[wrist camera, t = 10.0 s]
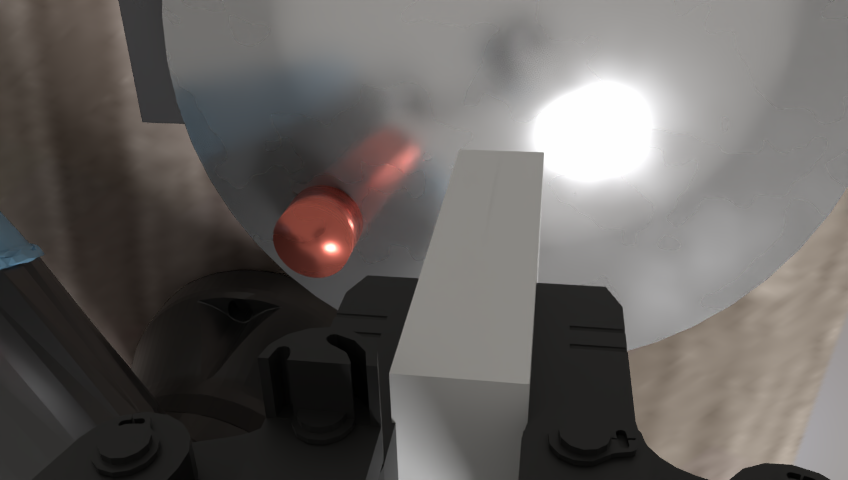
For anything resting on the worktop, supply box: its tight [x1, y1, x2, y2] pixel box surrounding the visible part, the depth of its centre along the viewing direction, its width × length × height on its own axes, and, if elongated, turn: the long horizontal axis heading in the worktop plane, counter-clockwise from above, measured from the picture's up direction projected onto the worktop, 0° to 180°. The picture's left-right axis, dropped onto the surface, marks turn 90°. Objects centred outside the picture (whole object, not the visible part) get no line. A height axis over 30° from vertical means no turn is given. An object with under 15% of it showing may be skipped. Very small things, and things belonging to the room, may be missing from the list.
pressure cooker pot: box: [118, 0, 185, 124], centre depth 30 cm, size 20×24×13 cm
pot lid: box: [162, 0, 848, 351], centre depth 22 cm, size 20×20×3 cm
